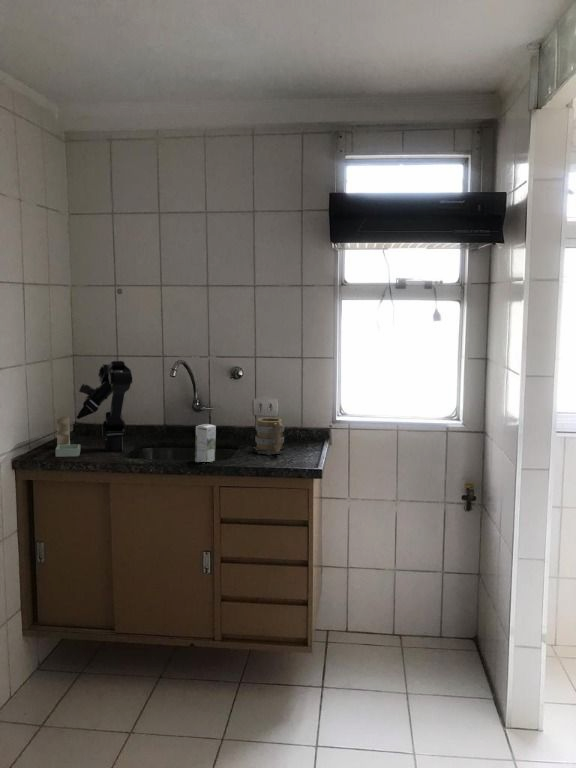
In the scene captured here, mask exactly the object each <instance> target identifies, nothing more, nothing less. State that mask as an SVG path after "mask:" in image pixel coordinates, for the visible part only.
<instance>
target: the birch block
mask: <svg viewBox="0 0 576 768" xmlns="http://www.w3.org/2000/svg"><path fill="white" fill-rule="evenodd" d="M70 425H71V424H70V416H58V417H57V418H56V429H57V430H56V433H57V434H56V437H57V439H56V440H57V441H56V443H57V444H56V447H57V446H58V445H71V440H70V439H71V435H70V428H71V426H70Z"/></svg>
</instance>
